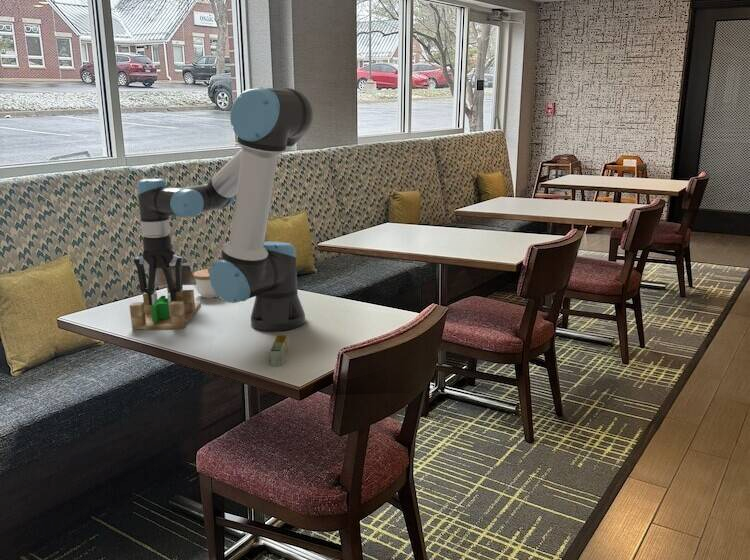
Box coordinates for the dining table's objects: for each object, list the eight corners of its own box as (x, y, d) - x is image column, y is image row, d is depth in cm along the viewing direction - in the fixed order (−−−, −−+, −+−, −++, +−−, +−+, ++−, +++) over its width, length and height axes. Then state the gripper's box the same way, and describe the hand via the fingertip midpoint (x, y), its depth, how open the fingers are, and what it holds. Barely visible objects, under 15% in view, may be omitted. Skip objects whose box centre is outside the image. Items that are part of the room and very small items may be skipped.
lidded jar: (224, 299, 216) (222, 271, 214) (191, 300, 216) (188, 271, 214) (231, 290, 226) (229, 263, 224) (198, 291, 226) (196, 264, 224)
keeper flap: (195, 285, 207) (196, 282, 207) (189, 265, 200) (190, 262, 200) (152, 286, 206) (153, 283, 207) (145, 266, 199) (145, 263, 200)
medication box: (281, 367, 160) (280, 350, 159) (269, 366, 160) (269, 350, 159) (287, 349, 172) (287, 334, 171) (277, 349, 172) (276, 334, 171)
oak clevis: (200, 305, 210) (198, 283, 208) (183, 328, 189) (180, 304, 187) (154, 306, 210) (152, 285, 208) (132, 329, 188) (129, 305, 187)
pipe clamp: (166, 322, 190) (164, 306, 189) (152, 322, 190) (150, 306, 189) (175, 309, 201) (174, 295, 200) (162, 310, 201) (161, 295, 200)
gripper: (190, 231, 193) (196, 310, 199) (130, 233, 193) (138, 312, 199) (183, 237, 186) (190, 318, 192) (121, 238, 186) (130, 320, 192)
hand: (164, 315), depth 195 cm, fingers closed on pipe clamp, 4 cm apart
